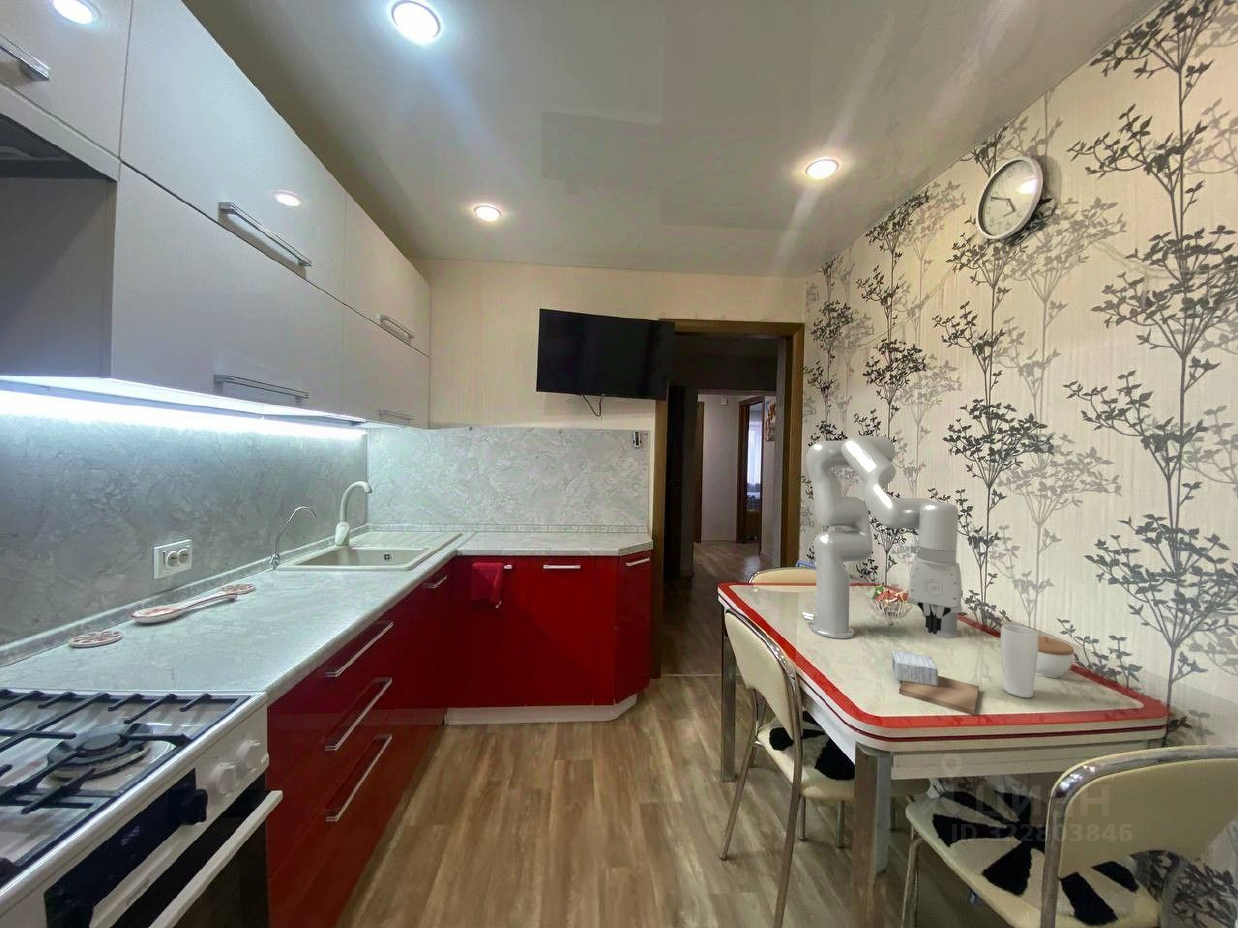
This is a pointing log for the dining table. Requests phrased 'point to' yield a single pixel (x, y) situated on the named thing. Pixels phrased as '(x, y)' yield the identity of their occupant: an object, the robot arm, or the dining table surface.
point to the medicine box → (914, 668)
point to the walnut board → (944, 694)
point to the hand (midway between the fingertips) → (933, 631)
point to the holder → (945, 624)
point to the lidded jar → (1053, 657)
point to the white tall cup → (1019, 659)
